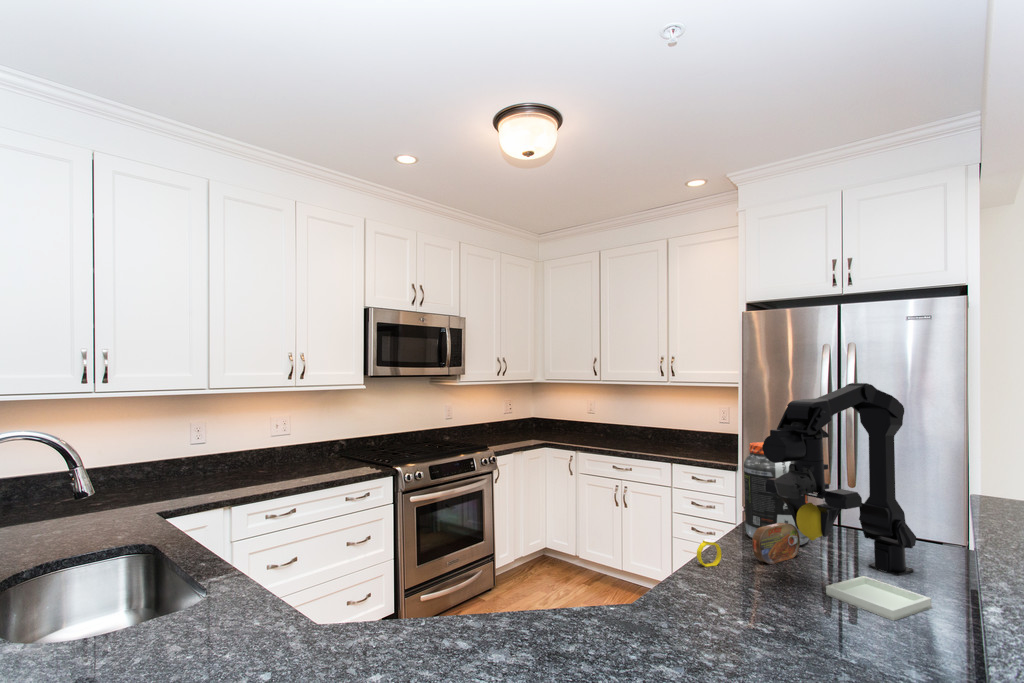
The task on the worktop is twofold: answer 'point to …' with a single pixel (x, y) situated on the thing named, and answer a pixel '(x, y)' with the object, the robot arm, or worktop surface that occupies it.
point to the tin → (776, 543)
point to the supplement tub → (764, 492)
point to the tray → (879, 597)
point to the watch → (700, 548)
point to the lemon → (809, 521)
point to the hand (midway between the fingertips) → (812, 532)
